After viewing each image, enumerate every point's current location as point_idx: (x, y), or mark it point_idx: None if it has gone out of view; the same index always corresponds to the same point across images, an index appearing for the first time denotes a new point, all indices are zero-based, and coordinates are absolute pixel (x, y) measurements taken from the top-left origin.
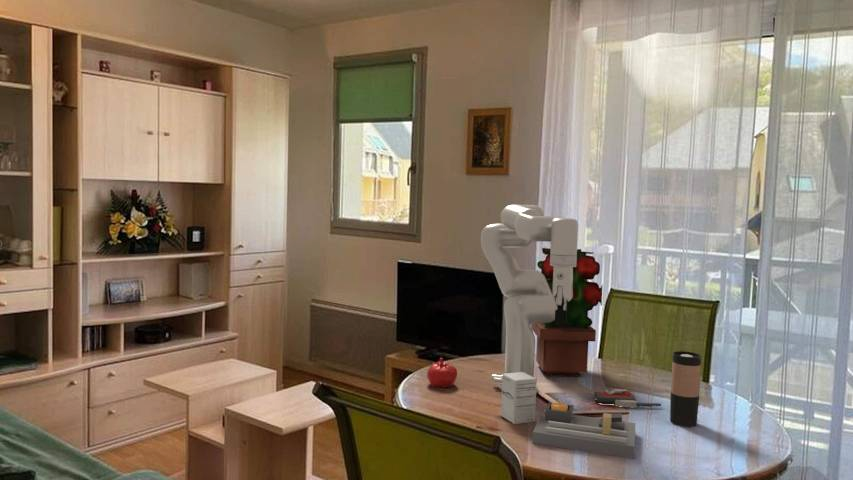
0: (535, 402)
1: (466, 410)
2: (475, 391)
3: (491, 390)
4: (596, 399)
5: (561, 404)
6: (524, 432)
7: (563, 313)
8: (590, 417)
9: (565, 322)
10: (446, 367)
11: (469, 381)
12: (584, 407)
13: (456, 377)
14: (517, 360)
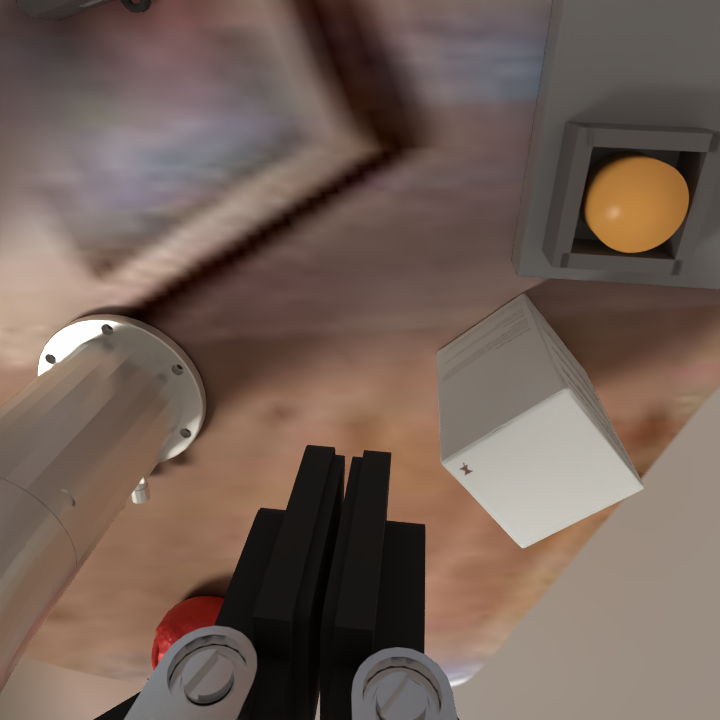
0: (540, 327)
1: (464, 528)
2: (231, 524)
3: (188, 478)
4: (86, 3)
5: (623, 198)
6: (676, 320)
7: (377, 619)
8: (569, 14)
9: (387, 470)
10: None
11: (123, 552)
12: (225, 69)
13: (199, 610)
14: (117, 488)
